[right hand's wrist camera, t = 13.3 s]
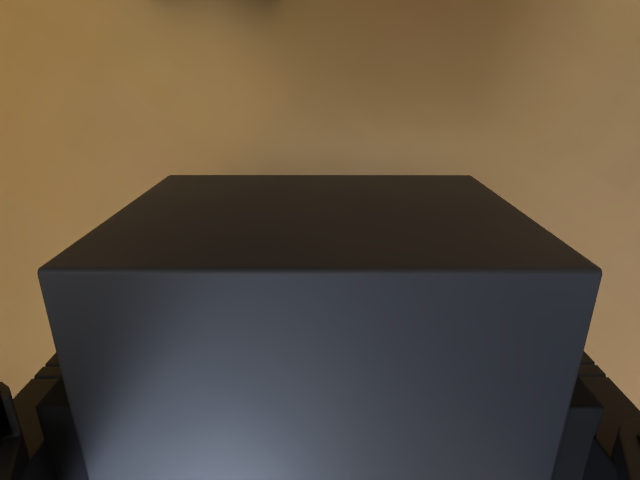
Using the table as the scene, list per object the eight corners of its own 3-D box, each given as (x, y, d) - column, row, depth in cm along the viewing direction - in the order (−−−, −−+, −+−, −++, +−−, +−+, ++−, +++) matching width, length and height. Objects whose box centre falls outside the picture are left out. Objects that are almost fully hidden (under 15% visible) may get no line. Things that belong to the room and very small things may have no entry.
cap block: (168, 174, 12) (33, 268, 6) (471, 174, 12) (606, 269, 6) (197, 416, 15) (122, 629, 9) (442, 416, 15) (517, 629, 9)
